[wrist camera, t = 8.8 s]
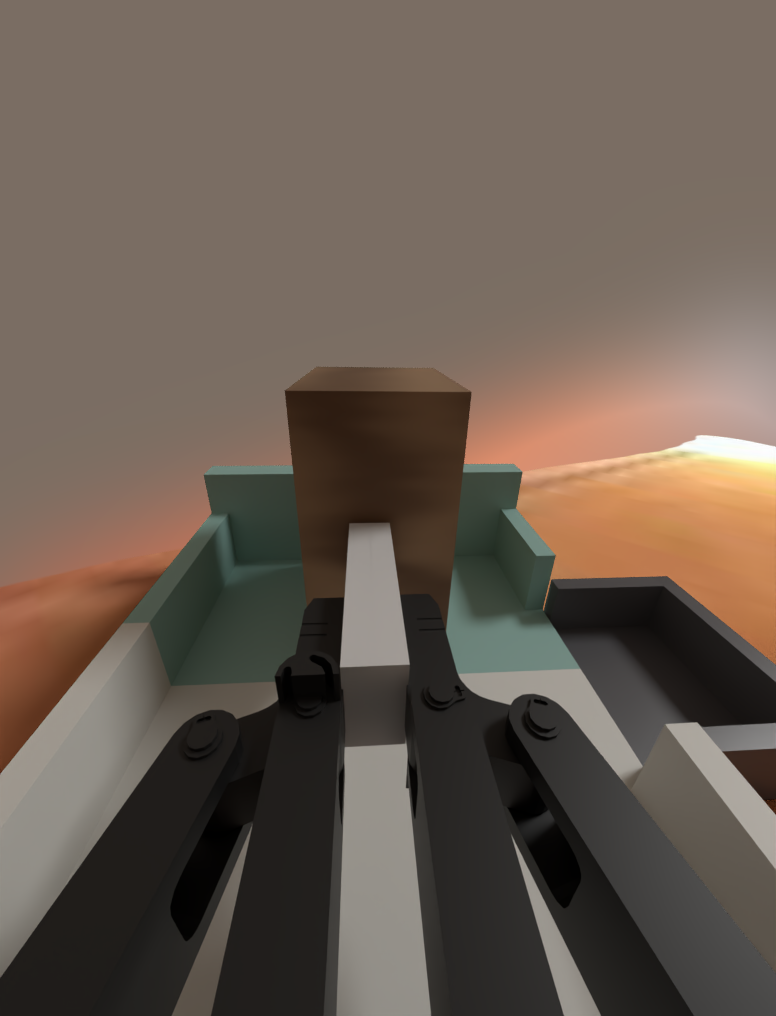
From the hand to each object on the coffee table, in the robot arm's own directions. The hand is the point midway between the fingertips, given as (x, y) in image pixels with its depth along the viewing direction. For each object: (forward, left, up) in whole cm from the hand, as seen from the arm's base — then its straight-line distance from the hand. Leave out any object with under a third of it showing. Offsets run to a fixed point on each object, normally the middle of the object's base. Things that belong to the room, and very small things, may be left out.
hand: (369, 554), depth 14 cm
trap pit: (-13, +1, -7) cm, 15 cm away
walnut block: (0, -4, -6) cm, 7 cm away
